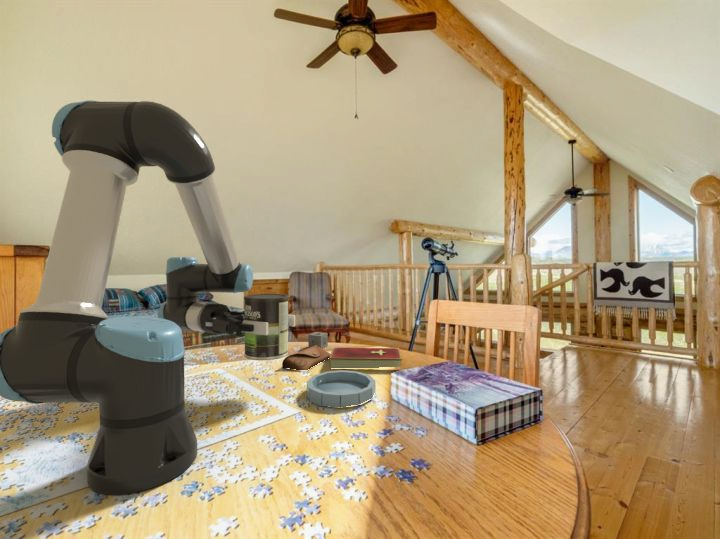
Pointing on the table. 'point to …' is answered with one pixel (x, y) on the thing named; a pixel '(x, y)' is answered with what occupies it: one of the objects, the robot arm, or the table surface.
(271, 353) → the coffee can
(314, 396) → the bowl
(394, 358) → the hardcover book
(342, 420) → the table surface
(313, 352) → the sunglasses case
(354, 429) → the table surface
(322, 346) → the dice cube
